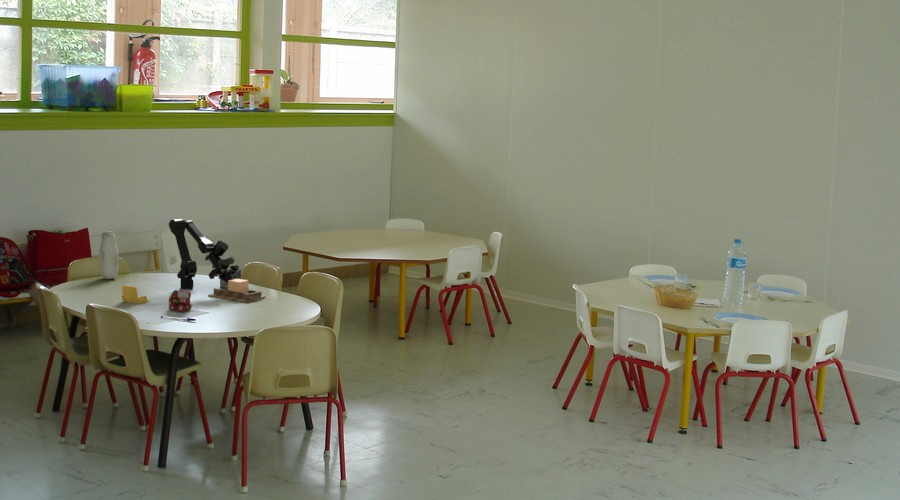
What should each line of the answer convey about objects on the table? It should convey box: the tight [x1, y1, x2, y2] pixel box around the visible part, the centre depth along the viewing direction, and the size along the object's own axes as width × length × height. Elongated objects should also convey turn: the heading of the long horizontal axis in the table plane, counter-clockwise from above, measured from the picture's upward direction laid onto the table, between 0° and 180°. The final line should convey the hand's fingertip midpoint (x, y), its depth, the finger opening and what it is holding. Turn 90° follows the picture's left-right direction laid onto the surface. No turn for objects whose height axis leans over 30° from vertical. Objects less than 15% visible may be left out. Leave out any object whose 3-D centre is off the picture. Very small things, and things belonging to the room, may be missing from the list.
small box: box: [219, 268, 242, 289], centre depth 555 cm, size 11×6×10 cm, turn 84°
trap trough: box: [207, 286, 266, 304], centre depth 531 cm, size 26×16×4 cm, turn 60°
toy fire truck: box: [168, 289, 193, 314], centre depth 495 cm, size 7×12×10 cm, turn 69°
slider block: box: [228, 278, 250, 294], centre depth 530 cm, size 8×7×8 cm
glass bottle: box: [98, 230, 120, 280], centre depth 567 cm, size 10×10×28 cm
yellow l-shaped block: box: [121, 284, 148, 305], centre depth 511 cm, size 10×10×9 cm
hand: (232, 283), depth 532 cm, fingers closed, pressing on slider block
